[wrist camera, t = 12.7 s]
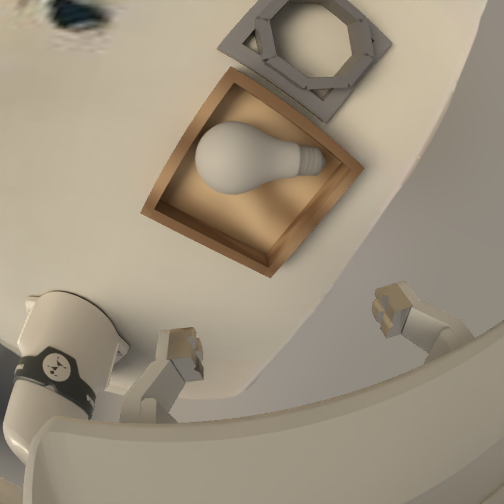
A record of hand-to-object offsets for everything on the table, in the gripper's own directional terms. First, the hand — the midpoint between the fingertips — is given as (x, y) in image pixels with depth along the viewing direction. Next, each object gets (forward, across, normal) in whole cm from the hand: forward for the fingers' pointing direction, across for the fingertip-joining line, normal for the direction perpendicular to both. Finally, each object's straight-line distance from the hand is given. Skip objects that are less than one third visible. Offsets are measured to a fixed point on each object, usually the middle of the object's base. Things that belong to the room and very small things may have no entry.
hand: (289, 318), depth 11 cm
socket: (+18, -8, -14) cm, 23 cm away
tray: (+18, -1, 0) cm, 18 cm away
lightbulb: (+14, -7, -2) cm, 16 cm away
